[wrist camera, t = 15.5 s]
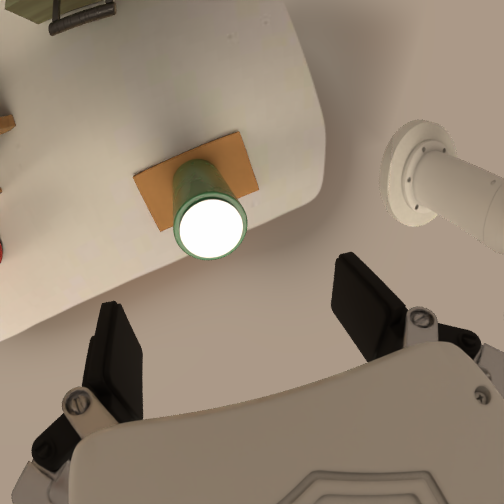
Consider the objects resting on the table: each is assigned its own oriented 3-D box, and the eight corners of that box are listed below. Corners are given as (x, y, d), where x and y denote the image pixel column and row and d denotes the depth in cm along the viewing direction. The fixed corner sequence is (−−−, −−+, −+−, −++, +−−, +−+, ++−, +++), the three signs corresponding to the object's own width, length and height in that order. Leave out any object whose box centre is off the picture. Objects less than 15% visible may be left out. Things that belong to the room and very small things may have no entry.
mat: (238, 131, 28) (239, 131, 28) (257, 188, 32) (259, 189, 32) (133, 175, 28) (132, 177, 27) (160, 229, 32) (160, 231, 31)
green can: (218, 155, 29) (245, 187, 19) (223, 201, 31) (251, 255, 21) (169, 163, 28) (166, 201, 18) (176, 209, 30) (181, 268, 20)
